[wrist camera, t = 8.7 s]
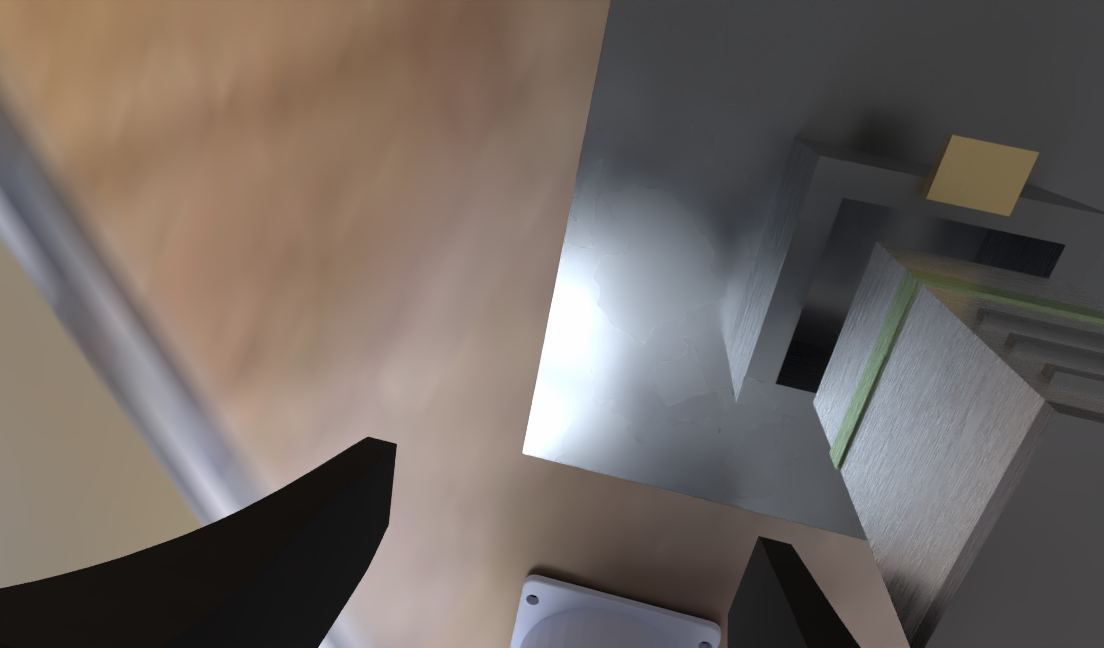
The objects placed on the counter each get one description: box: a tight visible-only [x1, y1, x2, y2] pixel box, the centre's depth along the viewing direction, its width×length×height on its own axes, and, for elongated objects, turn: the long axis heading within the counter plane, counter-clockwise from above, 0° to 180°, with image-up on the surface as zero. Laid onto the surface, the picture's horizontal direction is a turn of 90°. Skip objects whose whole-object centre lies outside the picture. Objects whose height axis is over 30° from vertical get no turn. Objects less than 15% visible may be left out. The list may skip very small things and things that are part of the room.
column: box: [813, 241, 1104, 648], centre depth 11 cm, size 4×4×7 cm
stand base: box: [523, 0, 1104, 541], centre depth 18 cm, size 18×18×5 cm
